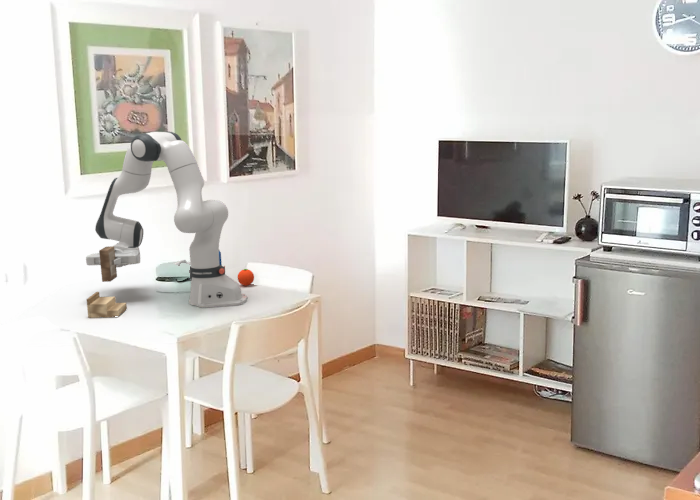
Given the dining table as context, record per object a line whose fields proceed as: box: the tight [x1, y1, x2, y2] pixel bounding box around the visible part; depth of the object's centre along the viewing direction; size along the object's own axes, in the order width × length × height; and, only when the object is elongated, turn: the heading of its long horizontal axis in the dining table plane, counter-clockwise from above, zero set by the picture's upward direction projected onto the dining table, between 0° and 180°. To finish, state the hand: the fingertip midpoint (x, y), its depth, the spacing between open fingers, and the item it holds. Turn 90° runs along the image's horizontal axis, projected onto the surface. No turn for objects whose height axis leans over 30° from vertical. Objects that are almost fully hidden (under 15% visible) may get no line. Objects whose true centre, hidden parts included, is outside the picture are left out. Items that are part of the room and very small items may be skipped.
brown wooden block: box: [98, 245, 118, 283], centre depth 304 cm, size 3×8×12 cm, turn 179°
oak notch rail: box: [86, 291, 128, 319], centre depth 296 cm, size 11×11×7 cm
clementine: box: [237, 268, 255, 287], centre depth 334 cm, size 8×7×7 cm
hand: (107, 262), depth 303 cm, fingers closed on brown wooden block, 3 cm apart
